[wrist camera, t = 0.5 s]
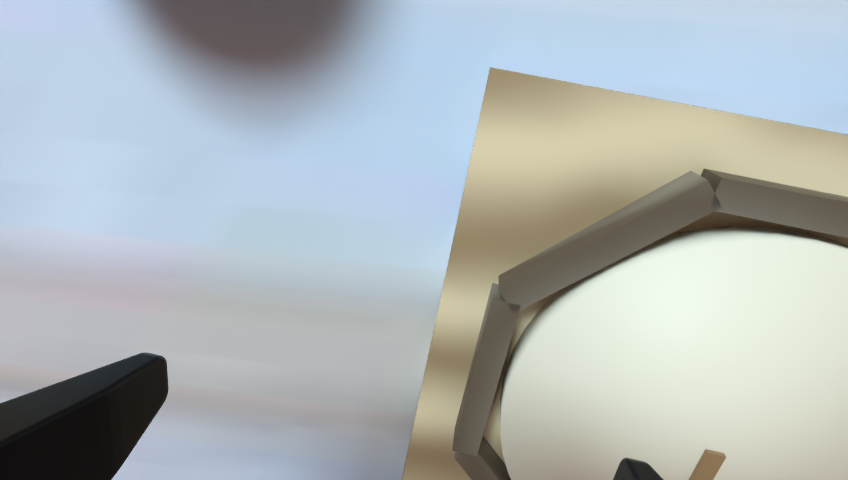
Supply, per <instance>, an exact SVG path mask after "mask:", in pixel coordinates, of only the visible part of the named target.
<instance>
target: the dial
mask: <svg viewBox="0 0 848 480" xmlns="http://www.w3.org/2000/svg"><path fill="white" fill-rule="evenodd" d="M500 436H501V444H502V453H503V457H504V461H505V464H506V468H507V471H508V474H509V476H510V478H511V480H613V478H614V476H615V473H616V471H617V468H618V466H619V463H620V462H621V460H622V459H623V458H631V459H636V460H641V461H644V462H647V463H648V464H649V465H650V466H651V467H652V468H653V469H654V470H655V471H656V472H657V473H658V474H659V475H660V476H661V477H662V478H663V479H664V480H848V246H846V245H843V244H841V243H838V242H836V241H834V240H831V239H827V238H823V237H820V236H816V235H812V234H808V233H805V232H801V231H794V230H787V229H780V228H773V227H756V226H728V227H717V228H705V229H697V230H692V231H687V232H682V233H677V234H672V235H667V236H665V237H663V238H661V239H659V240H657V241H655V242H653V243H651V244H649V245H648V246H646V247H644V248H642V249H640V250H638V251H636V252H634V253H632V254H630V255H628V256H626V257H624V258H622V259H620V260H618V261H616V262H614V263H612V264H610V265H608V266H606V267H604V268H602V269H600V270H598V271H596V272H594V273H592V274H591V275H589V276H587V277H585V278H583V279H581V280H579V281H577V282H575V283H573V284H571V285H569V286H567V287H565V288H563V289H561V290H559V291H558V292H557V293H556V294H555V295H554V296H553V297H552V298H551V299H550V300H549V301H548V302H547V303H546V304H545V305H544V306H543V307H542V308H541V309H540V310H539V311H538V312H537V314H536V315H535V316H534V317H533V319H532V320H531V321H530V323H529V324H528V325H527V326H526V328H525V329H524V331H523V333H522V334H521V336H520V338H519V340H518V341H517V343H516V345H515V347H514V348H513V351H512V353H511V356H510V358H509V361H508V364H507V366H506V369H505V373H504V377H503V382H502V387H501V396H500Z"/></svg>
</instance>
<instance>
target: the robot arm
mask: <svg viewBox="0 0 848 480" xmlns="http://www.w3.org/2000/svg"><path fill="white" fill-rule="evenodd" d="M167 394H168V375H167V362H166V359H165V358H164V357H163V356H160V355H155V354H151V353H140V354H137V355H135V356H132V357H129V358H126V359H123V360H121V361H118V362H115V363H112V364H109V365H107V366H104V367H101V368H98V369H95V370H93V371H90V372H87V373H84V374H81V375H79V376H76V377H73V378H70V379H67V380H65V381H62V382H59V383H56V384H53V385H51V386H48V387H45V388H42V389H39V390H37V391H34V392H31V393H28V394H25V395H23V396H20V397H17V398H14V399H11V400H8V401H6V402H3V403H0V480H111V479H112V478H113V477H114V475H115V474H116V473H117V471H118V470H119V469H120V467H121V466H122V464H123V463H124V462H125V460H126V459H127V457H128V456H129V454H130V453H131V451H132V450H133V448H134V447H135V445H136V444H137V442H138V441H139V439H140V438H141V436H142V435H143V433H144V432H145V430H146V429H147V427H148V426H149V424H150V423H151V421H152V420H153V418H154V417H155V415H156V414H157V412H158V411H159V409H160V408H161V406H162V405H163V403H164V402H165V400H166V397H167ZM613 480H664V479H663V478H662V477H661V476H660V475H659V474H658V473H657V472H656V471H655V470H654V469H653V468H652V467H651V466H650V465H649V464H648V463H647V462H644V461H641V460H636V459H631V458H623V459H622V460H621V462H620V463H619V466H618V468H617V471H616V473H615V476H614V478H613Z"/></svg>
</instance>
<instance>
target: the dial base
mask: <svg viewBox="0 0 848 480" xmlns="http://www.w3.org/2000/svg"><path fill="white" fill-rule="evenodd" d="M728 226H756V227H773V228H780V229H787V230H794V231H801V232H805V233H808V234H812V235H816V236H820V237H823V238H827V239H831V240H834V241H836V242H838V243H841V244H843V245H846V246H848V135H847V134H841V133H836V132H831V131H825V130H820V129H815V128H810V127H804V126H799V125H794V124H788V123H783V122H778V121H772V120H767V119H762V118H757V117H751V116H746V115H741V114H735V113H730V112H725V111H719V110H714V109H709V108H704V107H698V106H693V105H688V104H682V103H677V102H672V101H666V100H661V99H656V98H651V97H645V96H640V95H635V94H629V93H624V92H619V91H614V90H608V89H603V88H598V87H592V86H587V85H582V84H576V83H571V82H566V81H561V80H555V79H550V78H545V77H539V76H534V75H529V74H523V73H518V72H513V71H508V70H502V69H497V68H492V67H490V71H489V75H488V80H487V85H486V89H485V94H484V99H483V103H482V108H481V113H480V117H479V122H478V127H477V131H476V136H475V141H474V145H473V150H472V155H471V159H470V164H469V169H468V173H467V178H466V183H465V187H464V192H463V197H462V201H461V206H460V211H459V215H458V220H457V225H456V229H455V234H454V239H453V243H452V248H451V253H450V257H449V262H448V267H447V271H446V276H445V281H444V285H443V290H442V295H441V299H440V304H439V309H438V313H437V318H436V323H435V327H434V332H433V337H432V341H431V346H430V351H429V355H428V360H427V365H426V369H425V374H424V379H423V383H422V388H421V393H420V397H419V402H418V407H417V411H416V416H415V421H414V425H413V430H412V435H411V439H410V444H409V449H408V453H407V458H406V463H405V467H404V472H403V477H402V480H511V478H510V476H509V474H508V471H507V468H506V464H505V461H504V457H503V453H502V444H501V436H500V396H501V387H502V382H503V377H504V373H505V369H506V366H507V364H508V361H509V358H510V356H511V353H512V351H513V348H514V347H515V345H516V343H517V341H518V340H519V338H520V336H521V334H522V333H523V331H524V329H525V328H526V326H527V325H528V324H529V323H530V321H531V320H532V319H533V317H534V316H535V315H536V314H537V312H538V311H539V310H540V309H541V308H542V307H543V306H544V305H545V304H546V303H547V302H548V301H549V300H550V299H551V298H552V297H553V296H554V295H555V294H556V293H557V292H558V291H559V290H561V289H563V288H565V287H567V286H569V285H571V284H573V283H575V282H577V281H579V280H581V279H583V278H585V277H587V276H589V275H591V274H592V273H594V272H596V271H598V270H600V269H602V268H604V267H606V266H608V265H610V264H612V263H614V262H616V261H618V260H620V259H622V258H624V257H626V256H628V255H630V254H632V253H634V252H636V251H638V250H640V249H642V248H644V247H646V246H648V245H649V244H651V243H653V242H655V241H657V240H659V239H661V238H663V237H665V236H667V235H672V234H677V233H682V232H687V231H692V230H697V229H705V228H717V227H728Z"/></svg>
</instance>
